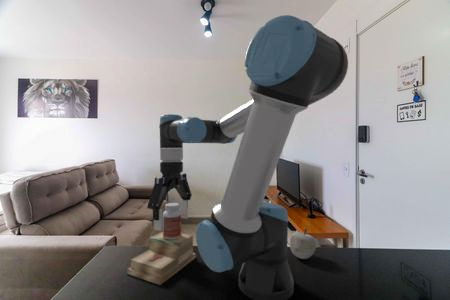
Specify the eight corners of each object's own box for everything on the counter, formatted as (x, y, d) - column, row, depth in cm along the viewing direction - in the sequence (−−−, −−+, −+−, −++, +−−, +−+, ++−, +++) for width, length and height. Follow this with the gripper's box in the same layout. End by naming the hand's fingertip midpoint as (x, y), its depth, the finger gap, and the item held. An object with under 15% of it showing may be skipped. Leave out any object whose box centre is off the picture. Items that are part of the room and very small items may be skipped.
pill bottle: (184, 237, 79) (184, 205, 79) (166, 241, 76) (166, 207, 76) (177, 232, 84) (177, 201, 84) (160, 235, 81) (160, 203, 81)
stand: (195, 257, 82) (195, 234, 82) (160, 285, 66) (160, 256, 66) (166, 250, 88) (166, 228, 88) (127, 273, 72) (126, 247, 71)
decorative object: (287, 260, 81) (287, 231, 80) (292, 249, 89) (292, 223, 88) (314, 266, 77) (315, 235, 77) (317, 254, 85) (317, 227, 84)
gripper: (184, 159, 93) (184, 212, 93) (134, 163, 70) (135, 233, 70) (200, 159, 89) (200, 215, 89) (153, 163, 67) (154, 238, 67)
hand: (172, 223), depth 80 cm, fingers open, 13 cm apart
